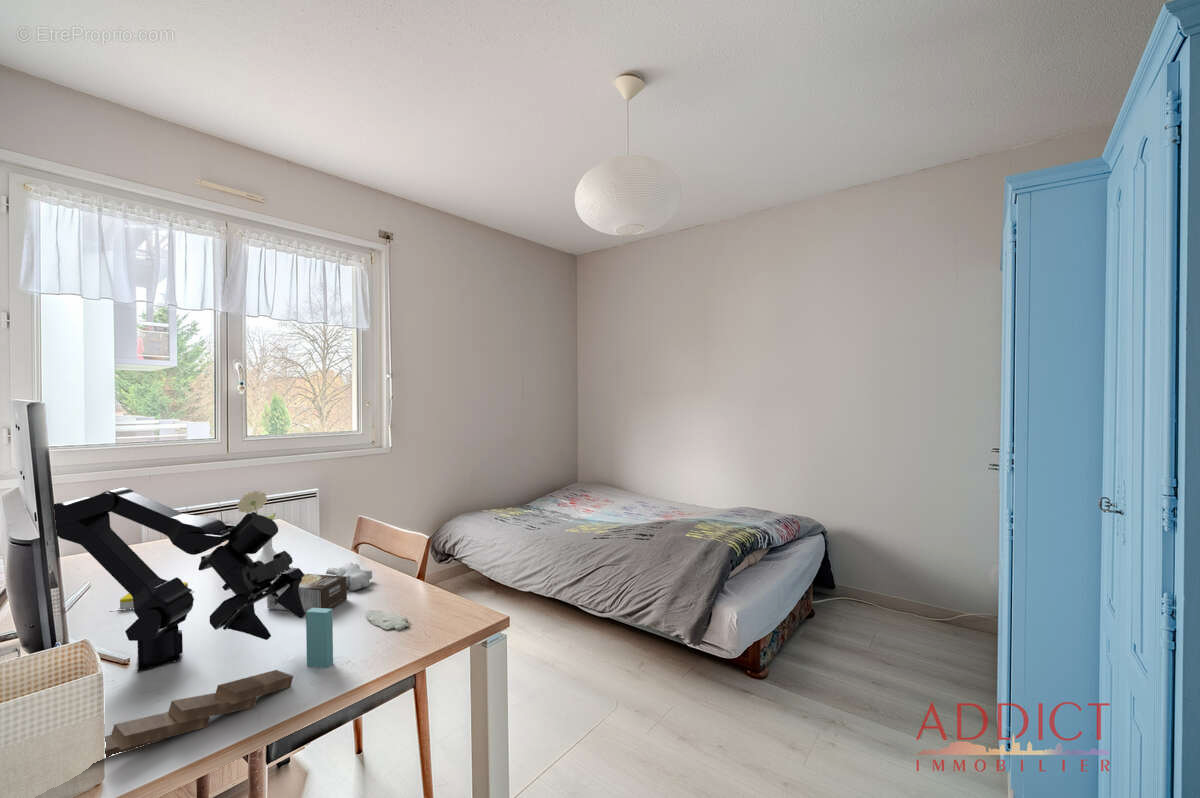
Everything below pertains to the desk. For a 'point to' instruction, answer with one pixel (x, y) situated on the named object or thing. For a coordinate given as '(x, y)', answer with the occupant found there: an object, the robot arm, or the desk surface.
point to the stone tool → (386, 620)
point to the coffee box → (317, 592)
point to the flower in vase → (254, 503)
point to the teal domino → (319, 637)
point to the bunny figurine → (352, 575)
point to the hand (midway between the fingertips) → (287, 627)
